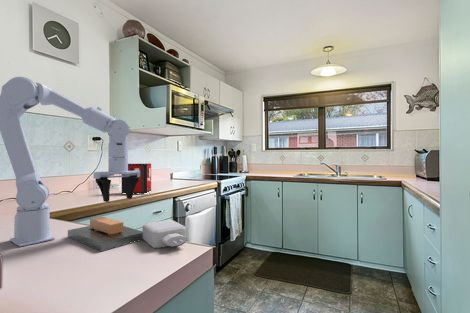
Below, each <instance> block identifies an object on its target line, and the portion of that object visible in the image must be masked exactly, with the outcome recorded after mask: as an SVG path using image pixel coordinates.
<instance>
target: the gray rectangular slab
mask: <svg viewBox="0 0 470 313" xmlns="http://www.w3.org/2000/svg"><path fill="white" fill-rule="evenodd" d="M67 238H69V239H70V240H71V239H72V240H74V241H76V242H79V243H81V244H83V245H86V246H87V245H88V247H90V248H92V249H94V250H97V251H99V252H104V250H105V251H108V250H111V249H110V248H112V249H114V248H113V247H116V248H118V247H117V246H119V247H121V246H120V245H123V244H126V245H128V244H127V243H130V242H133V243H135V242H134V241H137V242H139V241H138V240H140V241H143V238H142V230H140V229H139V230H138V229H135V228H131V227H127V226H124V225H123V232H119V234H117V235H113V236H108V233H105V232H102V231H94V229H93V228H90V225H87V226H82V227H81V226H80V227H77V228H76V227H75V228H72V229H67ZM130 244H131V243H130ZM123 246H124V245H123ZM107 249H108V250H107Z"/></svg>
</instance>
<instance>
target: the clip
mask: <svg viewBox="0 0 470 313" xmlns="http://www.w3.org/2000/svg"><path fill="white" fill-rule="evenodd" d="M89 226H90V228H93V229H94V231H102V232H105V233H108V236H113V235H117V234H119V232H123V226H124V222H123V221H119V220H116V219H113V218H108V217H105V216H100V217H98V216H97V217H93V218H89Z"/></svg>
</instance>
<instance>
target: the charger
mask: <svg viewBox="0 0 470 313" xmlns="http://www.w3.org/2000/svg"><path fill="white" fill-rule="evenodd" d="M141 228H142V230H141V231H142V238H143V239H144V241H145V242H146V243H147V244H148V245H150V247H152V248H153V249H160V248H161V247H162V248H167V247H175V246H181V245H182V244H184V243H186V242H187V239H188V238H187V227H186V226H185V225H182V224H181V223H179V222H177V221H175V220H173V219H167V220H165V219H164V220H159V221H151V222H147V223H144V224H143V225H142V227H141Z"/></svg>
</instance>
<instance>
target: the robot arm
mask: <svg viewBox="0 0 470 313" xmlns="http://www.w3.org/2000/svg"><path fill="white" fill-rule="evenodd" d="M0 91H1V92H0V135H1V138H2V141H3V144H4V147H5V150H6V152H7V156H8V158H9V161H10V164H11V167H12V170H13V173H14V175H15V187H16V189H17V190H16V191H17V192H16V196H15V201H16V203H17V205H18V206H17V207H16V213H15V215H14V217H13V218H14V221H13V222H14V225H13V226H14V232H13V233H14V235H13V236H14V237H10V238H9V241H10V242H12V243H13V244H15V245H16V246H18V247H24V246H29V245H34V244H39V243H43V242H47V241H53V240H55V239H56V237H55V236H54V235H51V234H50V229H51V228H50V221H51V220H50V218H51V216H50V213H51V212H50V207H51V205H50V204H48V203H47V202H46V201H47V200H48V198H49V197H50V189H49V188H48V187H47V185H45V184H44V183H43V181H42V178H41V177H40V174H39V172H38V170H37V167H36V163H35V161H34V157H33V155H32V152H31V148H30V146H29V143H28V139H27V137H26V134H25V130H24V128H23V124H22V121H21V117H22V116H23V115H24V114H25V113H26V111H27V110H30V109H31V108H34V107H35V106H37V105H39V104H40V105H41V106H51V105H53V106H55V107H57V108H60V109H61V110H63V111H67V112H69V113H71V114H74V115H76V116H78V117H80V118H81V120H82V122H83V124H84V125H87V126H89V127H91V128H94V129H95V130H98V131H100V132H102V133H107V134H108V136H109V137H108V139H109V140H108V146H107V147H108V148H107V149H108V156H107V157H108V159H107V160H108V166H107V167H108V169H107V171H93V174H92V175H93V176H92V177H93V179H95V182H96V184H97V186H98V188H99V190H100V193H101V195H102V199H103V202H104V203H105V202H106V203H110V190H111V189H110V187H111V184H112V179H113V178H122V177H127V178H125V182H126V194H125V195H126V196H125V197H126V199H129V200H131V199H133V196H134V194H133V192H134V189H135V186H136V184H137V182H138V181H139V177H137V176H140V171H128V164H129V143H128V141H129V139H128V135H129V133H130V131H131V129H130V127H129V124H128V123H127V122H126V121H124V120H122V119H117V116H116V115H113V116H111V115H110V114H108V113H106V112H105V111H102V108H100V107H99V106H97V107H95V106H89V107H86V106H83V105H81V104H79V103H78V102H76V101H74V100H72V99H70V98H69V97H67V96H64V95H63V94H62V93H59V92H58V91H56V90H55V89H52V88H50V87H49V86H46V85H45V84H42V83H40V82H37V81H35V82H34V81H33V80H32V79H30V78H28V77H25V76H15V77H12V78H10V79H9V80H8V81H7V82H6V83H4V84H3V85H2V86H1V90H0ZM111 178H112V179H111Z"/></svg>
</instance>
